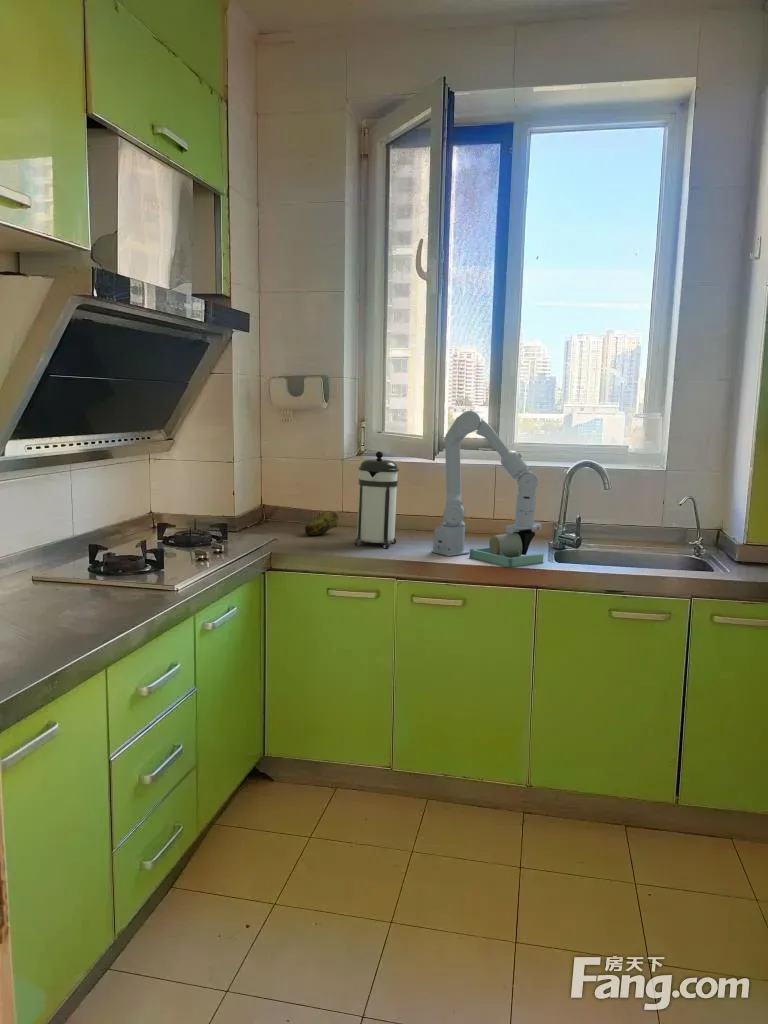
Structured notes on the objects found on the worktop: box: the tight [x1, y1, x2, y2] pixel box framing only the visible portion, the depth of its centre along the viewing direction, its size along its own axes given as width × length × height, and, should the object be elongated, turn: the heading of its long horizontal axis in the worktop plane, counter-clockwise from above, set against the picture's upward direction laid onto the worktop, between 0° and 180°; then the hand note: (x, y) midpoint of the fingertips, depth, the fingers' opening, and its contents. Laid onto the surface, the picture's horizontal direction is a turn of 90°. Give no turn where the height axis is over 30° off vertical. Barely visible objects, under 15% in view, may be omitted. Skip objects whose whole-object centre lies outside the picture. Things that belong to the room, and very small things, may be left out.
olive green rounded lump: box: [304, 510, 339, 536], centre depth 261 cm, size 8×13×8 cm, turn 118°
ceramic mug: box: [489, 533, 522, 558], centre depth 231 cm, size 11×8×8 cm
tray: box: [469, 546, 544, 568], centre depth 232 cm, size 15×16×2 cm
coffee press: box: [354, 450, 400, 549], centre depth 247 cm, size 17×16×30 cm
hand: (522, 554), depth 237 cm, fingers closed
